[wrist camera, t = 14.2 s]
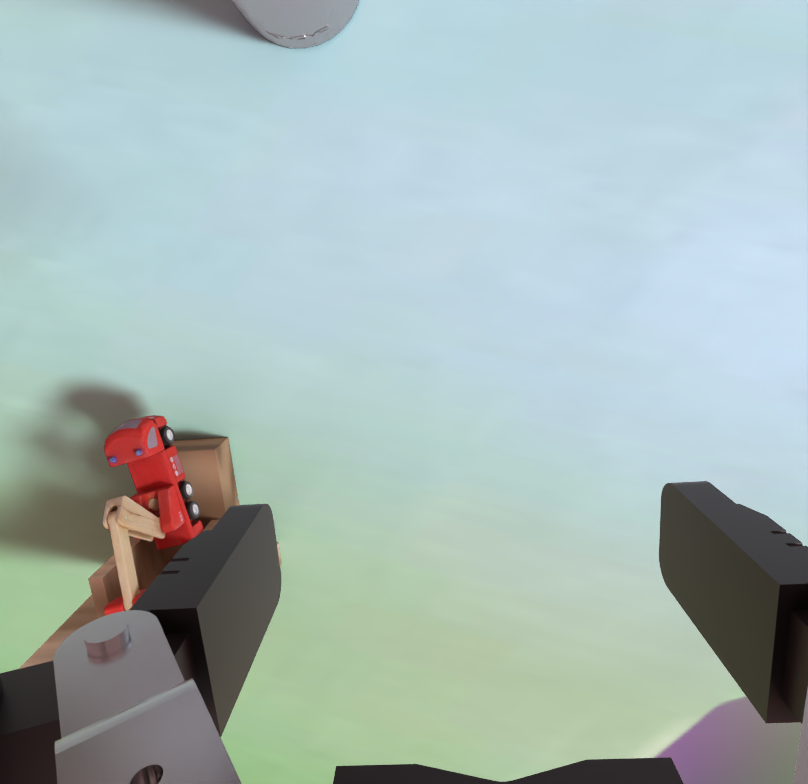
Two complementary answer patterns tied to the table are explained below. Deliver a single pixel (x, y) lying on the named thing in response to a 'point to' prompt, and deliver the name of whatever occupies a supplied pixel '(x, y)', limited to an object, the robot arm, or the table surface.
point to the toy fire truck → (147, 499)
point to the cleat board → (214, 495)
